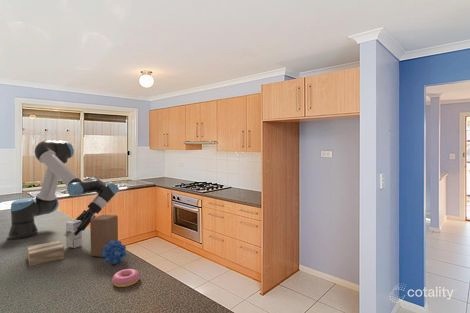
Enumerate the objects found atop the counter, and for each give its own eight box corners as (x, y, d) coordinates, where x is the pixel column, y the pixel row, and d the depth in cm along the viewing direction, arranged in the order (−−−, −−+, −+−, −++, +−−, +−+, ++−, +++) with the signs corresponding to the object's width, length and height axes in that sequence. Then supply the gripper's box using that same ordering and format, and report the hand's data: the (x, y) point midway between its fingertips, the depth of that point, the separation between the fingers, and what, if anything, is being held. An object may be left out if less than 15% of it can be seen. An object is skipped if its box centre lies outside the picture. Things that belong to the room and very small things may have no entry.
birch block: (27, 257, 139) (27, 246, 139) (59, 250, 148) (59, 240, 148) (29, 266, 128) (29, 254, 128) (63, 258, 138) (63, 247, 137)
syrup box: (82, 244, 155) (82, 220, 155) (73, 248, 150) (73, 222, 149) (75, 243, 157) (74, 219, 157) (66, 247, 152) (65, 221, 151)
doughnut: (111, 291, 106) (111, 281, 106) (112, 278, 116) (112, 269, 116) (140, 285, 110) (140, 275, 110) (138, 274, 121) (138, 265, 120)
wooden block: (106, 258, 138) (106, 219, 137) (90, 256, 140) (89, 218, 139) (119, 250, 147) (118, 214, 147) (103, 249, 149) (102, 213, 149)
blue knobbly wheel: (105, 270, 123) (105, 245, 123) (100, 266, 128) (99, 241, 128) (130, 263, 132) (129, 239, 131) (124, 259, 136) (124, 235, 136)
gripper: (108, 211, 157) (78, 245, 146) (95, 206, 171) (67, 237, 160) (99, 203, 153) (67, 238, 142) (86, 199, 167) (56, 230, 156)
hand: (67, 237), depth 151 cm, fingers closed on syrup box, 7 cm apart
